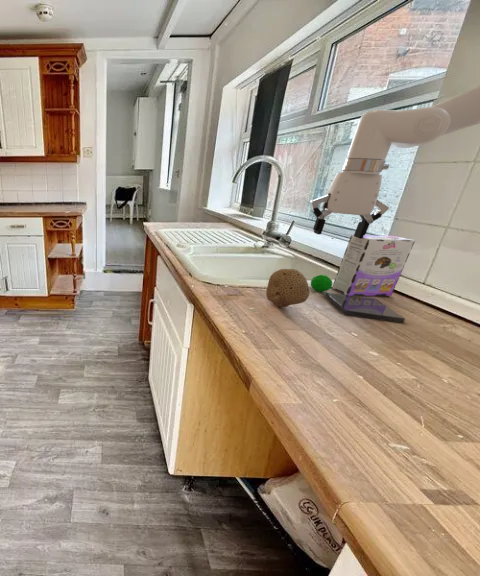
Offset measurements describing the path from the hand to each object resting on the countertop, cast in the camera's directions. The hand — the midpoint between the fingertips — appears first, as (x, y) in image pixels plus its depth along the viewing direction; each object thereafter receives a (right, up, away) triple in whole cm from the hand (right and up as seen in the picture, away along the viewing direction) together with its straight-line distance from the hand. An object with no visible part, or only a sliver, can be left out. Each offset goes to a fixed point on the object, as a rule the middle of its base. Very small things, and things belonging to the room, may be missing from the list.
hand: (337, 235), depth 82 cm
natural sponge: (-19, -19, -6) cm, 27 cm away
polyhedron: (-1, -15, +6) cm, 17 cm away
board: (+3, -19, -4) cm, 20 cm away
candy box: (+12, -16, +7) cm, 21 cm away
